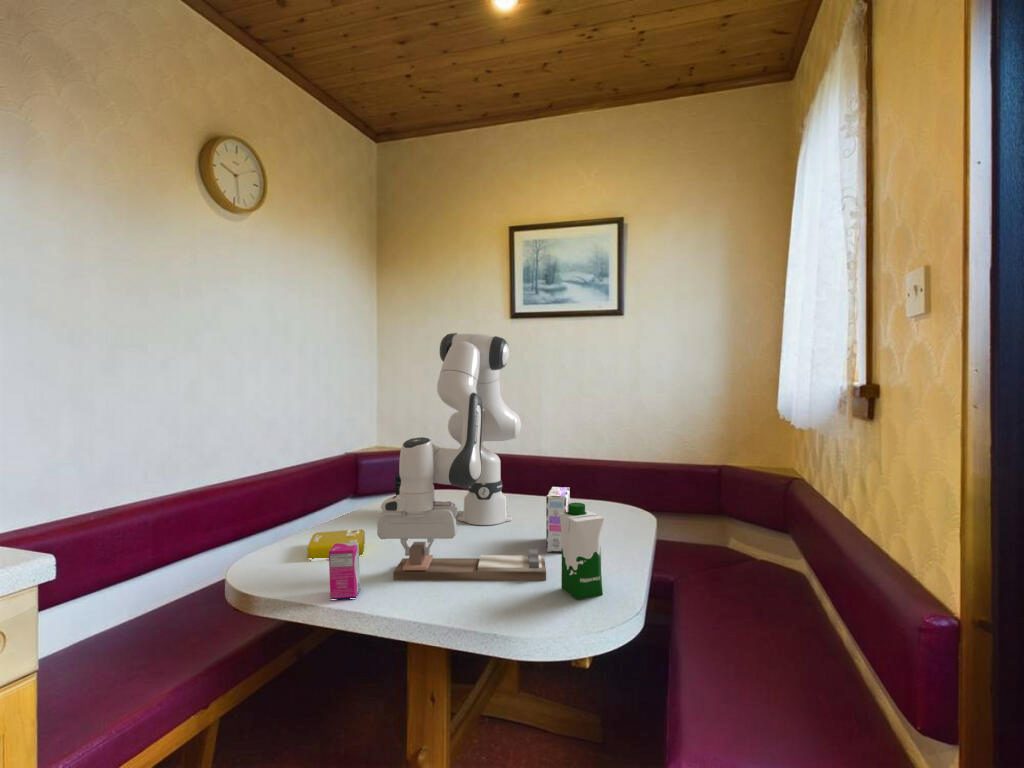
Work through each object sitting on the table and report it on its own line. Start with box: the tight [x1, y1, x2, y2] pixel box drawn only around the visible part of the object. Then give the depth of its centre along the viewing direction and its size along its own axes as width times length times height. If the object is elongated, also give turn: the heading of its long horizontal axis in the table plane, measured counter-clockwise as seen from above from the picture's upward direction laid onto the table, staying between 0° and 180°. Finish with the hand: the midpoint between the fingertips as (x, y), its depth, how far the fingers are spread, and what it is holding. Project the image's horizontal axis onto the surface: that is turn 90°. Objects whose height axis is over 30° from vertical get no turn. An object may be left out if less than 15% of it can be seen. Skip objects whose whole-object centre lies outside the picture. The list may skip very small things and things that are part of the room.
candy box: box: [545, 486, 571, 554], centre depth 156 cm, size 14×6×16 cm, turn 168°
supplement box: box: [328, 542, 361, 599], centre depth 121 cm, size 6×6×12 cm
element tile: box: [306, 528, 366, 559], centre depth 152 cm, size 15×15×5 cm
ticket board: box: [392, 548, 547, 581], centre depth 134 cm, size 10×38×5 cm, turn 89°
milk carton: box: [559, 502, 605, 601], centre depth 122 cm, size 9×9×20 cm
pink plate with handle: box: [403, 541, 434, 570], centre depth 134 cm, size 9×6×5 cm, turn 179°
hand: (417, 555), depth 135 cm, fingers open, 3 cm apart
